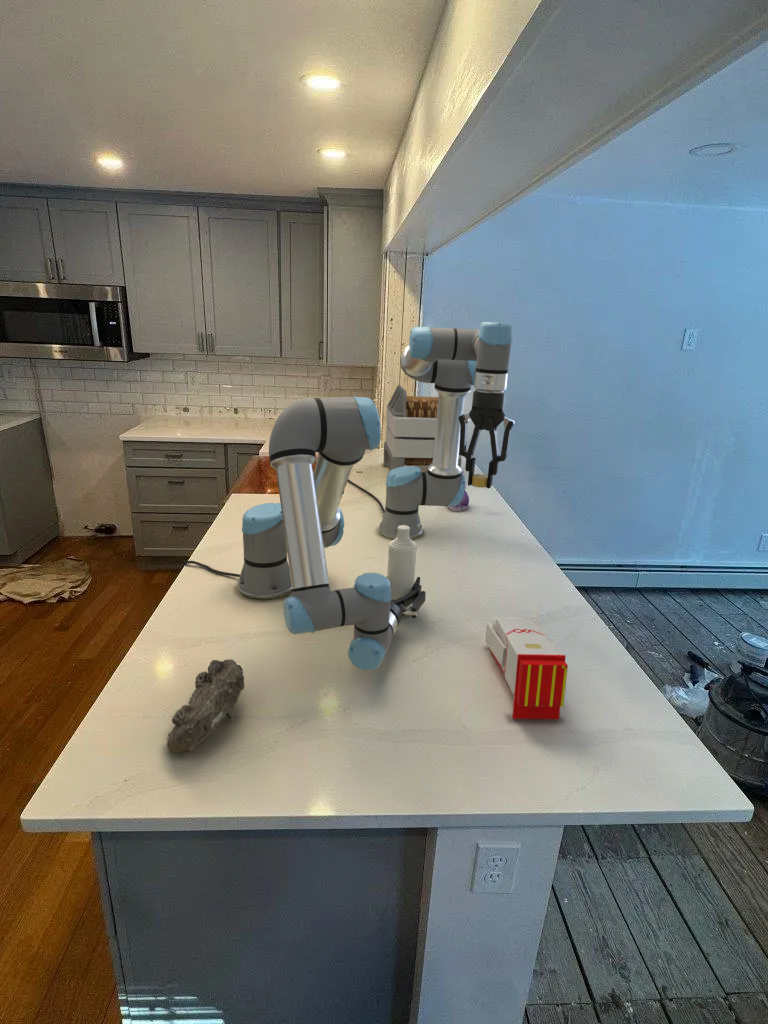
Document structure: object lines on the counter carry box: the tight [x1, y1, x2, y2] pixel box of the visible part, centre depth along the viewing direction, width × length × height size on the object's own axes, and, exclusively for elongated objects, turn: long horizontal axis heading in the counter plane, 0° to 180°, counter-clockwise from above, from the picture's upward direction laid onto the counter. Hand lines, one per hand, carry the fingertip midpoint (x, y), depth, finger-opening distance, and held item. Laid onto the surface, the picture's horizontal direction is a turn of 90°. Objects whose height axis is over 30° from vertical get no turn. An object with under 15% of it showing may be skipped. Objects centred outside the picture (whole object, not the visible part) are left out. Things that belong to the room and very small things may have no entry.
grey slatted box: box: [383, 384, 463, 471], centre depth 268 cm, size 34×33×41 cm
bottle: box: [386, 525, 418, 617], centre depth 146 cm, size 7×7×23 cm
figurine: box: [448, 470, 470, 512], centre depth 226 cm, size 9×10×15 cm
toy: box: [484, 617, 569, 720], centre depth 122 cm, size 12×13×30 cm
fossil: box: [166, 658, 245, 754], centre depth 106 cm, size 22×10×15 cm
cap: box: [471, 473, 488, 489], centre depth 141 cm, size 4×4×2 cm
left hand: (404, 579), depth 152 cm, fingers closed on bottle, 7 cm apart
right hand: (479, 485), depth 142 cm, fingers closed on cap, 4 cm apart
